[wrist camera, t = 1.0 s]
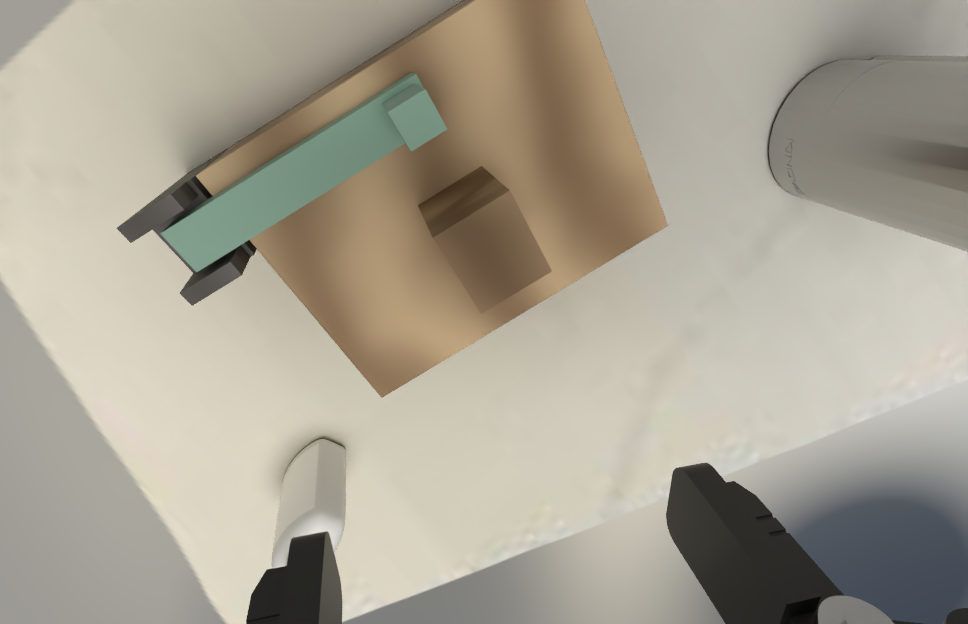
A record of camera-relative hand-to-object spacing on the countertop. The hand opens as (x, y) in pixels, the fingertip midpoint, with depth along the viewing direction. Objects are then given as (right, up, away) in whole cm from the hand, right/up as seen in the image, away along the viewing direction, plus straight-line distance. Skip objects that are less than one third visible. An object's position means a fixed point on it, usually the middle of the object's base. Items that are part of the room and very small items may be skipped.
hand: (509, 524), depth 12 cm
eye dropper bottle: (-13, -7, +28) cm, 32 cm away
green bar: (-8, +11, +11) cm, 18 cm away
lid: (-2, +10, +14) cm, 18 cm away
